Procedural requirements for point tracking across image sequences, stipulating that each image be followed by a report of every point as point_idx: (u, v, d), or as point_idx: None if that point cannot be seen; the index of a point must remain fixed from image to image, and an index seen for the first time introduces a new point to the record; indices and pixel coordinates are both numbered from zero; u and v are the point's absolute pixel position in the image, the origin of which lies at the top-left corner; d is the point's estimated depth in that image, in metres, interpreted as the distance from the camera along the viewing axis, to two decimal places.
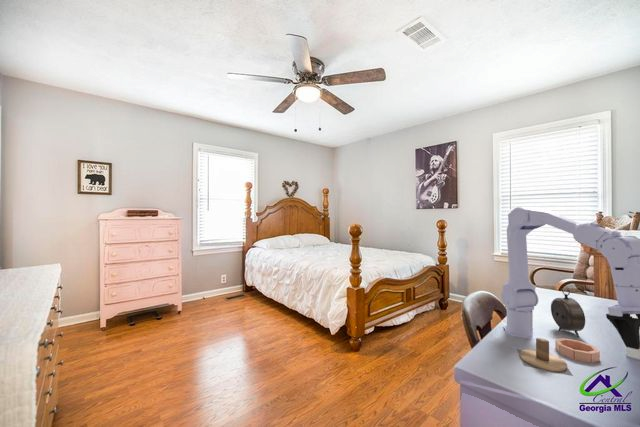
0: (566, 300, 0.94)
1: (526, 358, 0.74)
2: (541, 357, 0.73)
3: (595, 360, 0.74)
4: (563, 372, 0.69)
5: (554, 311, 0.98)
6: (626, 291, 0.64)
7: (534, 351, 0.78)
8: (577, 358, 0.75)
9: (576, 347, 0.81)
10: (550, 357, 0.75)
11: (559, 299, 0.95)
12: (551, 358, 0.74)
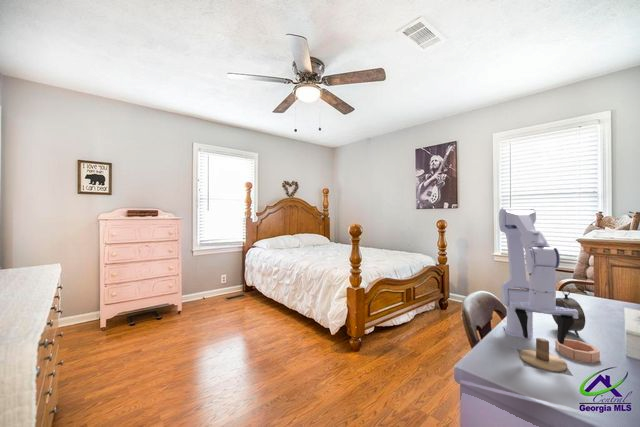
0: (566, 300, 0.94)
1: (526, 358, 0.74)
2: (541, 357, 0.73)
3: (595, 360, 0.74)
4: (563, 372, 0.69)
5: None
6: (530, 293, 0.75)
7: (534, 351, 0.78)
8: (577, 358, 0.75)
9: (576, 347, 0.81)
10: (550, 357, 0.75)
11: (559, 299, 0.95)
12: (551, 358, 0.74)
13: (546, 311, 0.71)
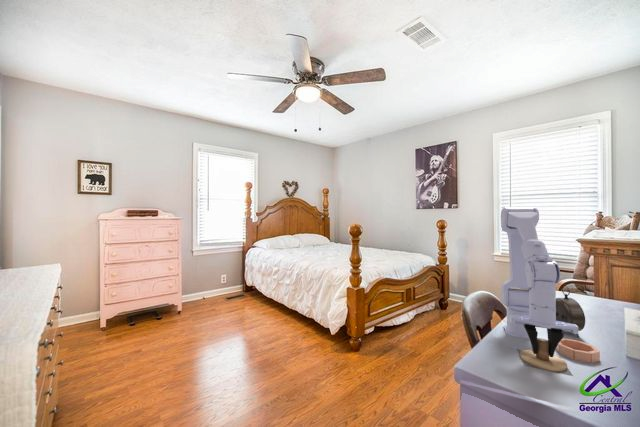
0: (566, 300, 0.94)
1: (526, 358, 0.74)
2: (542, 357, 0.73)
3: (595, 360, 0.74)
4: (563, 372, 0.69)
5: None
6: (530, 307, 0.75)
7: None
8: (577, 358, 0.75)
9: (576, 347, 0.81)
10: (550, 357, 0.75)
11: (559, 299, 0.95)
12: (551, 358, 0.74)
13: (546, 326, 0.71)
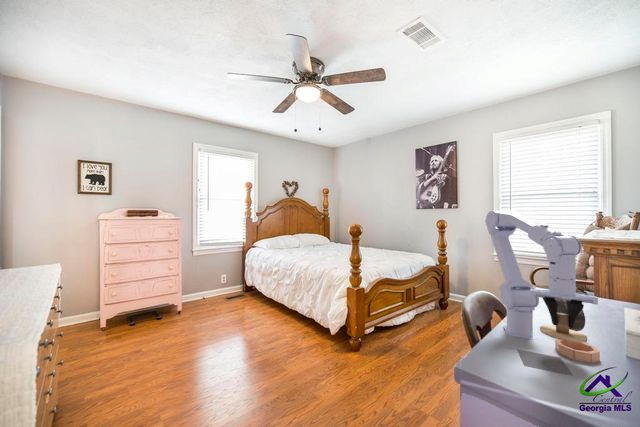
0: None
1: (545, 331, 0.77)
2: (561, 330, 0.76)
3: (595, 360, 0.74)
4: (563, 372, 0.69)
5: None
6: (549, 280, 0.78)
7: (555, 327, 0.81)
8: (577, 358, 0.75)
9: (576, 347, 0.81)
10: (571, 331, 0.77)
11: None
12: (571, 332, 0.76)
13: (566, 297, 0.74)
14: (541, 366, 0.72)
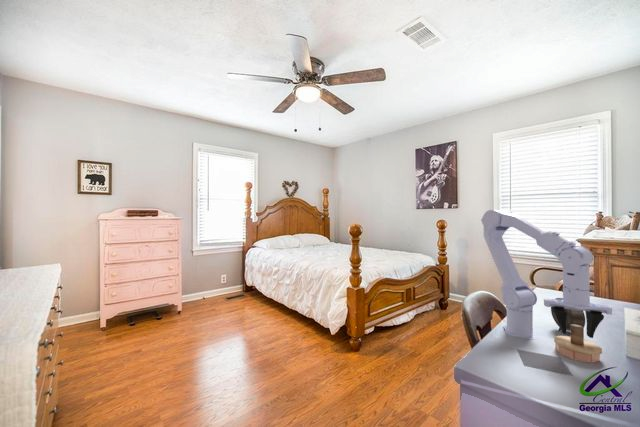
0: None
1: (560, 342, 0.79)
2: (576, 341, 0.77)
3: (595, 360, 0.74)
4: (563, 372, 0.69)
5: None
6: (564, 290, 0.80)
7: (570, 337, 0.82)
8: (577, 358, 0.75)
9: None
10: (585, 343, 0.78)
11: (559, 299, 0.95)
12: (586, 343, 0.78)
13: (581, 307, 0.75)
14: (541, 366, 0.72)
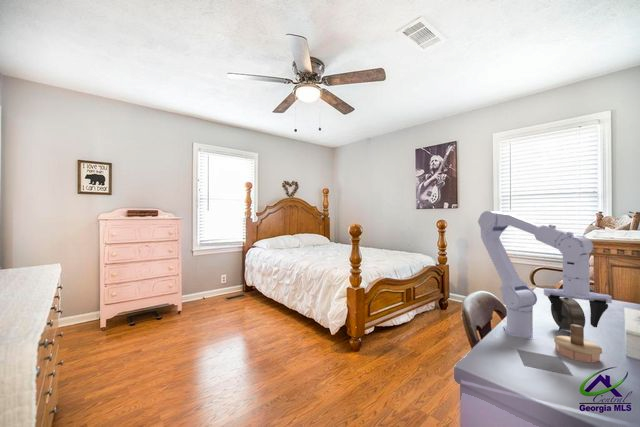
0: (566, 300, 0.94)
1: (560, 342, 0.79)
2: (576, 341, 0.77)
3: (595, 360, 0.74)
4: (563, 372, 0.69)
5: (554, 311, 0.98)
6: (564, 279, 0.80)
7: (570, 337, 0.82)
8: (577, 358, 0.75)
9: None
10: (585, 343, 0.78)
11: None
12: (586, 343, 0.78)
13: (581, 296, 0.75)
14: (541, 366, 0.72)
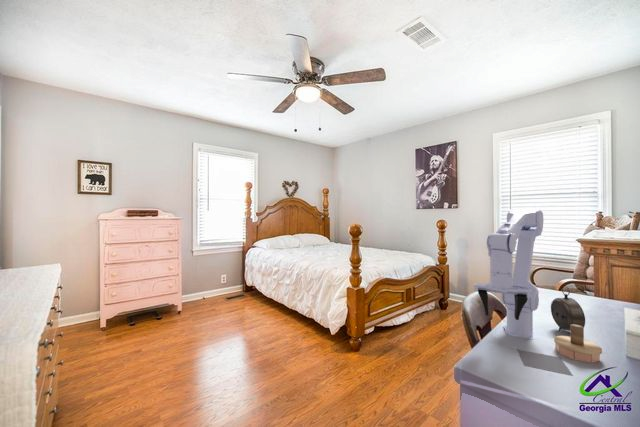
0: (566, 300, 0.94)
1: (560, 342, 0.79)
2: (576, 341, 0.77)
3: (595, 360, 0.74)
4: (563, 372, 0.69)
5: (554, 311, 0.98)
6: (490, 275, 0.83)
7: (570, 337, 0.82)
8: (577, 358, 0.75)
9: None
10: (585, 343, 0.78)
11: (559, 299, 0.95)
12: (586, 343, 0.78)
13: (503, 290, 0.79)
14: (541, 366, 0.72)
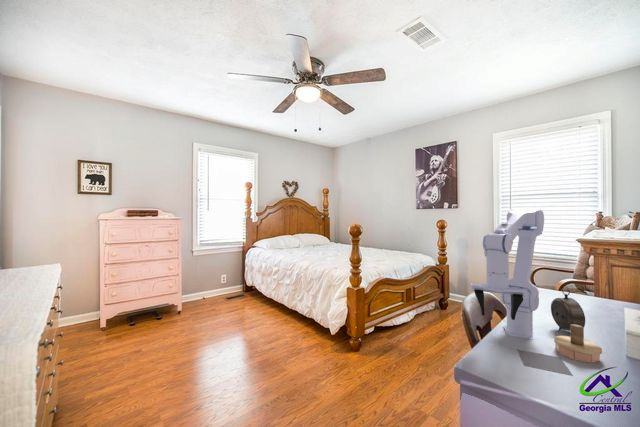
0: (566, 300, 0.94)
1: (560, 342, 0.79)
2: (576, 341, 0.77)
3: (595, 360, 0.74)
4: (563, 372, 0.69)
5: (554, 311, 0.98)
6: None
7: (570, 337, 0.82)
8: (577, 358, 0.75)
9: None
10: (585, 343, 0.78)
11: (559, 299, 0.95)
12: (586, 343, 0.78)
13: (499, 290, 0.79)
14: (541, 366, 0.72)
